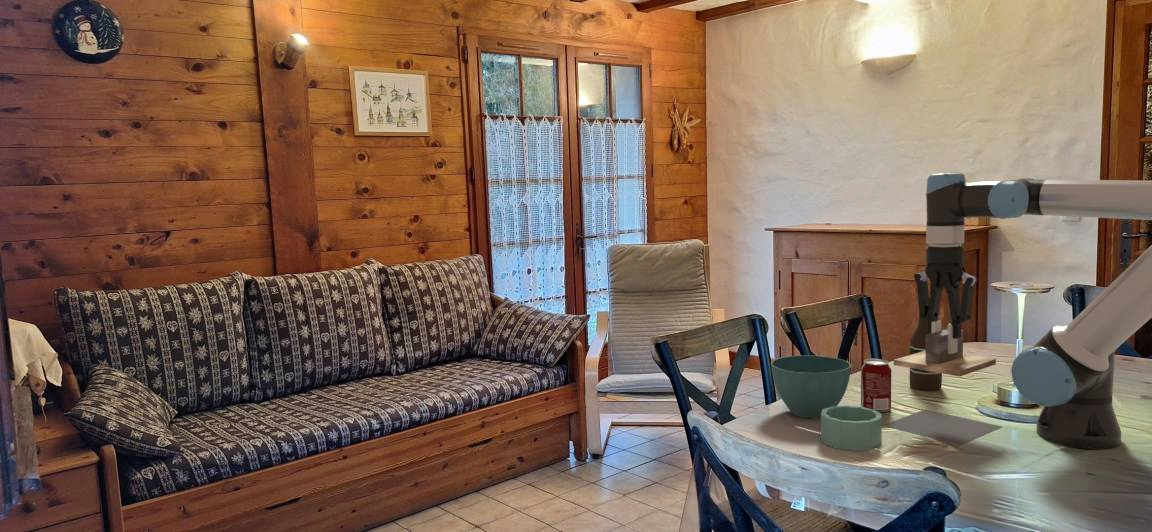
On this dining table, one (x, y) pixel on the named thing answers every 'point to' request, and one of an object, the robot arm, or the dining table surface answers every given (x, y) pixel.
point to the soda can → (876, 385)
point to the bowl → (851, 428)
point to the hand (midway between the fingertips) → (944, 351)
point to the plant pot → (810, 383)
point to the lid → (944, 357)
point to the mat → (942, 426)
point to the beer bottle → (922, 377)
